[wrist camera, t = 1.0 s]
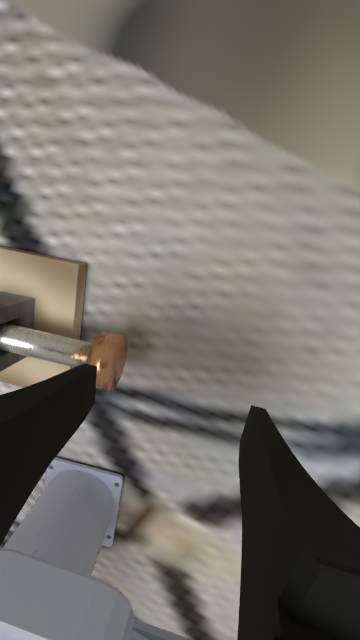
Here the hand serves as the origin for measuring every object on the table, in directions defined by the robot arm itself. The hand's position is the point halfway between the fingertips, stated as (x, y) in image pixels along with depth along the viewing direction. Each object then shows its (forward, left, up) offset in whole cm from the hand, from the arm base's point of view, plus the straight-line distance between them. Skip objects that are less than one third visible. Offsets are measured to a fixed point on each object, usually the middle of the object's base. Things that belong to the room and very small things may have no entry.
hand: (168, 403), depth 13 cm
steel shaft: (-2, +14, -9) cm, 16 cm away
